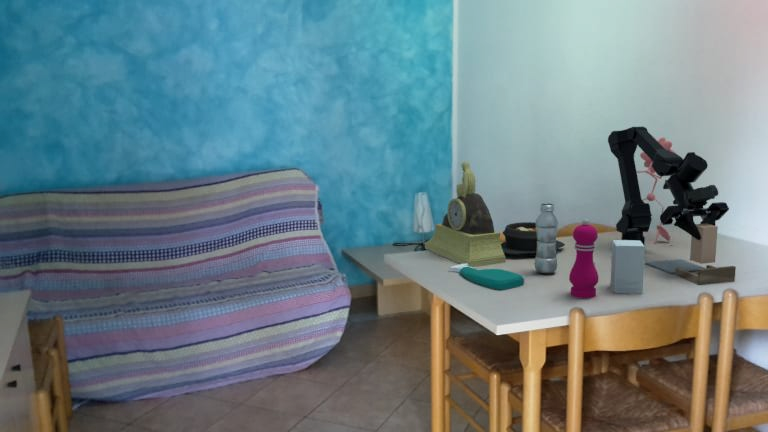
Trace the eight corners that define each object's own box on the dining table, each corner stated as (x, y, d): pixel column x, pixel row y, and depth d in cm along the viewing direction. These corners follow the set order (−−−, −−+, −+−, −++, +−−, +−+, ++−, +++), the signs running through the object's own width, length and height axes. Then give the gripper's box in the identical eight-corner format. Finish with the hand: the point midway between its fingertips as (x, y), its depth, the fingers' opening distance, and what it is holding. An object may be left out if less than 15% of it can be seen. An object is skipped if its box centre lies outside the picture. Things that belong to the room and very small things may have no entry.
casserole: (518, 263, 214) (519, 236, 212) (480, 251, 230) (480, 226, 228) (578, 252, 226) (579, 226, 225) (537, 241, 242) (538, 217, 240)
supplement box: (643, 294, 181) (645, 246, 178) (612, 293, 182) (614, 245, 180) (638, 286, 188) (641, 239, 185) (609, 285, 189) (611, 239, 187)
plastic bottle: (558, 270, 205) (560, 202, 201) (555, 276, 198) (557, 206, 195) (535, 269, 207) (537, 201, 203) (532, 275, 200) (534, 205, 197)
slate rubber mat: (645, 264, 210) (645, 262, 210) (680, 260, 213) (680, 259, 213) (671, 274, 198) (671, 272, 198) (707, 270, 201) (707, 268, 201)
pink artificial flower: (676, 248, 228) (683, 139, 222) (609, 235, 248) (614, 136, 242) (702, 242, 237) (710, 137, 231) (635, 230, 257) (640, 134, 251)
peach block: (689, 259, 196) (692, 224, 194) (703, 258, 197) (706, 223, 195) (701, 263, 192) (703, 227, 190) (715, 262, 193) (717, 226, 191)
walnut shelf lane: (675, 275, 197) (676, 261, 196) (709, 271, 200) (710, 258, 199) (699, 284, 188) (700, 270, 187) (734, 281, 190) (735, 266, 190)
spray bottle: (498, 293, 186) (441, 274, 206) (528, 285, 191) (469, 268, 212) (498, 282, 185) (440, 264, 205) (528, 275, 191) (469, 259, 211)
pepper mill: (564, 291, 184) (566, 216, 181) (591, 290, 185) (594, 215, 181) (574, 299, 177) (576, 221, 174) (602, 298, 178) (605, 220, 174)
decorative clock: (424, 249, 235) (424, 159, 229) (458, 244, 240) (458, 157, 235) (469, 268, 210) (469, 168, 204) (505, 262, 215) (506, 165, 209)
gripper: (668, 177, 191) (693, 224, 183) (727, 173, 196) (753, 219, 187) (649, 201, 200) (672, 247, 192) (705, 197, 205) (730, 242, 196)
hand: (707, 238), depth 192 cm, fingers closed on peach block, 4 cm apart
